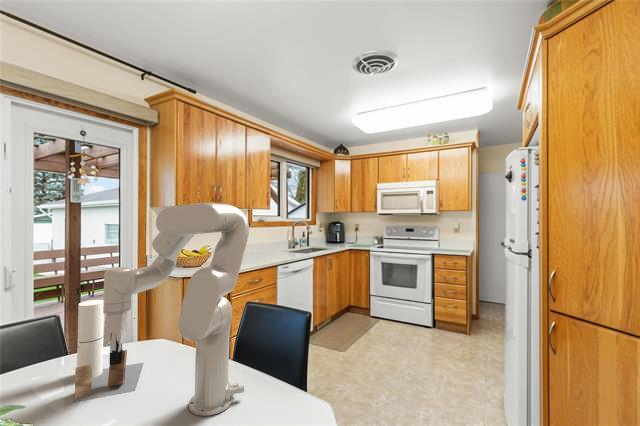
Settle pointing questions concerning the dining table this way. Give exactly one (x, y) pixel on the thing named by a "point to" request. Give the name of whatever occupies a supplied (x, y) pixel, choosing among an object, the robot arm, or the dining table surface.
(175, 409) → the dining table surface
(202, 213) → the robot arm
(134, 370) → the mat
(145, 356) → the dining table surface
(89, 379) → the oak block
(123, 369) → the walnut block
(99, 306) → the cylindrical container
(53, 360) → the dining table surface
